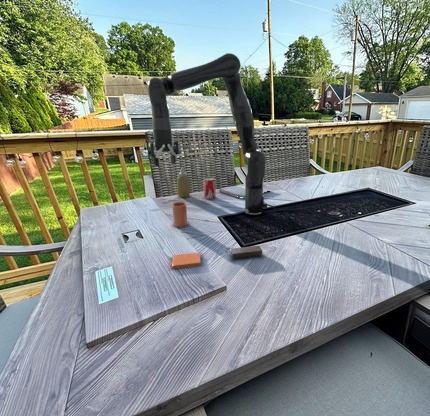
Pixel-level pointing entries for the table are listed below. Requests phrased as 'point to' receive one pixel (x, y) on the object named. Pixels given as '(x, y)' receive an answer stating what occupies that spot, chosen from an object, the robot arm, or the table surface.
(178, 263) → the orange rectangular slab
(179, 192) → the squeeze bottle
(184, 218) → the pot
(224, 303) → the table surface
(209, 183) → the soda can
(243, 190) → the notebook
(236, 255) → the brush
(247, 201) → the robot arm
